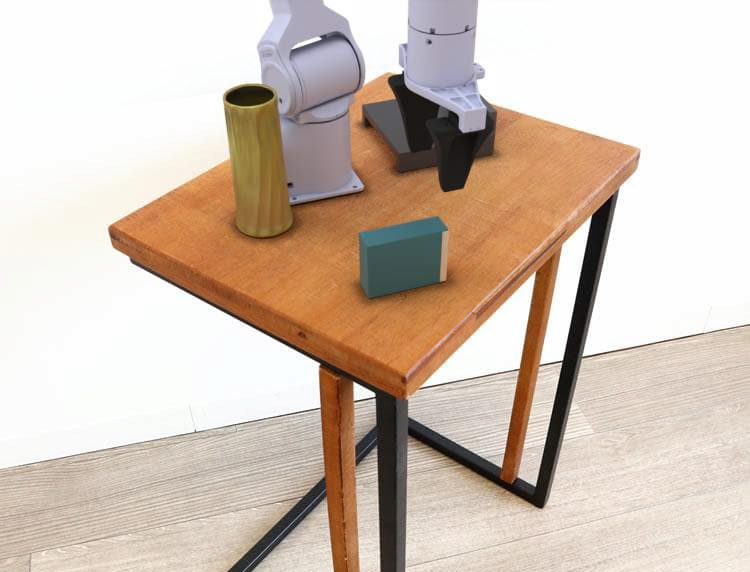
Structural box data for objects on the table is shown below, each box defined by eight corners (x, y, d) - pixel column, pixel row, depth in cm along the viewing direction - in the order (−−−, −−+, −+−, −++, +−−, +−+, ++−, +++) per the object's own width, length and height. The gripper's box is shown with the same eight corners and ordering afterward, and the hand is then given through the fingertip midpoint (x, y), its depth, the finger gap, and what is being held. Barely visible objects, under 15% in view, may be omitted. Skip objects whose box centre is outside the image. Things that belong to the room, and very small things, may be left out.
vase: (224, 228, 89) (204, 100, 79) (258, 201, 93) (242, 76, 83) (272, 244, 87) (257, 115, 77) (304, 215, 91) (294, 89, 81)
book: (446, 281, 82) (449, 229, 78) (368, 299, 80) (367, 247, 76) (436, 266, 84) (438, 215, 80) (359, 283, 82) (358, 231, 78)
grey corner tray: (398, 173, 97) (399, 128, 93) (362, 123, 106) (361, 81, 102) (493, 154, 100) (497, 111, 96) (450, 107, 109) (452, 66, 105)
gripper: (526, 47, 66) (509, 198, 75) (450, -14, 76) (444, 127, 85) (443, 61, 64) (436, 214, 73) (377, -3, 74) (378, 139, 83)
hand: (435, 168), depth 79 cm, fingers open, 7 cm apart
